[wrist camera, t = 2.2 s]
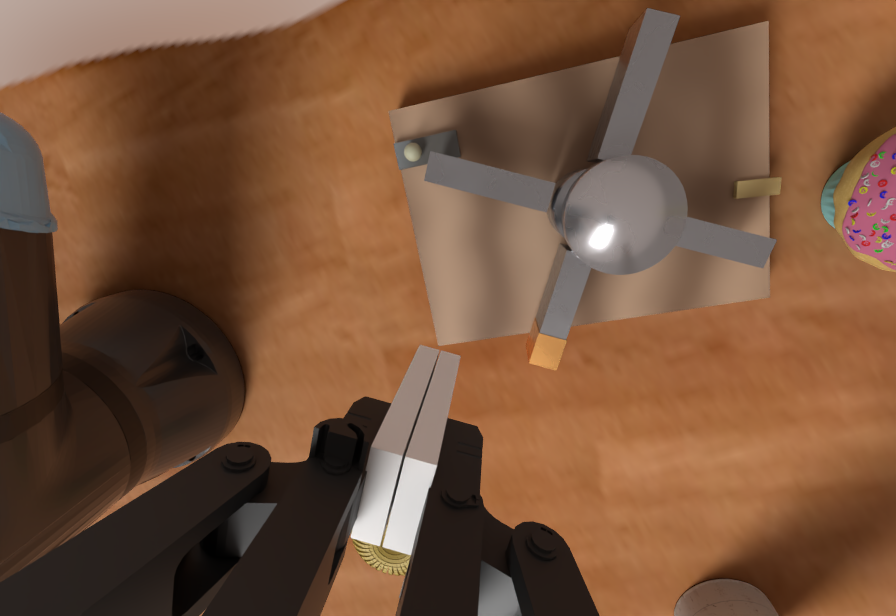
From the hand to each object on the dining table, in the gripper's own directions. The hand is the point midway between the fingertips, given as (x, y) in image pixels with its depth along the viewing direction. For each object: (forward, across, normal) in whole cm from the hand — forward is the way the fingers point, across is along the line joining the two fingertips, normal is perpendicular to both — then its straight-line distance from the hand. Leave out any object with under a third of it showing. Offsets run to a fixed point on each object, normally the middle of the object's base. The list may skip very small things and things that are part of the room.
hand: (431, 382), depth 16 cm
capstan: (+14, +6, +7) cm, 17 cm away
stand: (+16, +6, +8) cm, 19 cm away
